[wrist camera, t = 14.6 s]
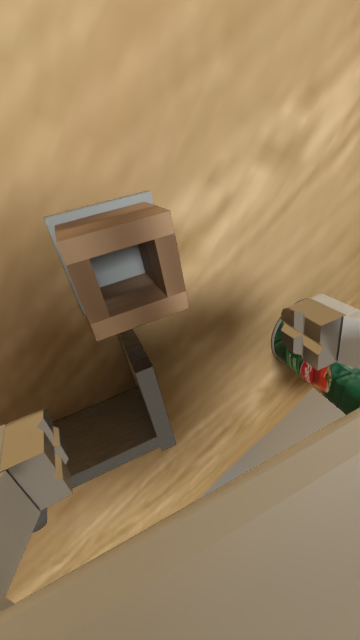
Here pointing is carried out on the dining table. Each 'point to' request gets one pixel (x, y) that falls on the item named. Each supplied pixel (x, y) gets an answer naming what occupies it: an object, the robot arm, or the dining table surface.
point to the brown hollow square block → (133, 293)
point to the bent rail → (116, 424)
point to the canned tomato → (322, 375)
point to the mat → (110, 264)
